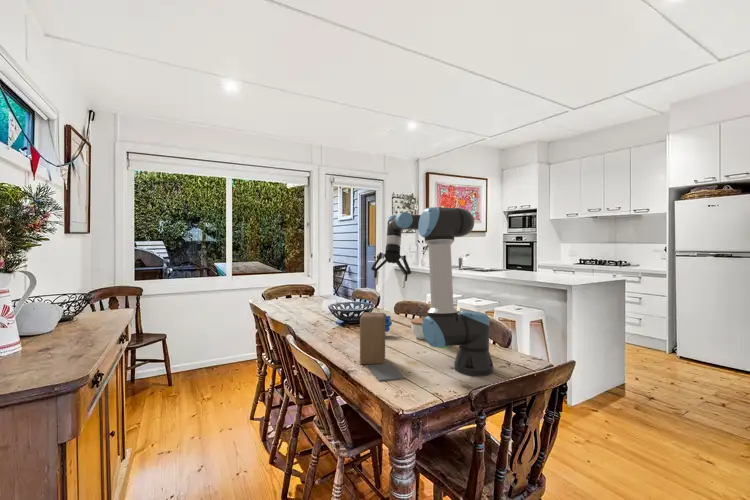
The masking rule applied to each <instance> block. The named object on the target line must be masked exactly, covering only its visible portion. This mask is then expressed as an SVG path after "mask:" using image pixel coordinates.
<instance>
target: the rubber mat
mask: <svg viewBox="0 0 750 500" xmlns="http://www.w3.org/2000/svg"><path fill="white" fill-rule="evenodd" d="M367 368H368V369H369V371H370V372H371V374H373V376H374V377H375V378H376V379H377V380H378V382H388V381H396V380H397V381H398V380H405V379H406V376H404V374H403V373H401V371H399V369H398V368H396V367H395V365H393V364H392V363H383V364H378V365H377V364H367Z"/></svg>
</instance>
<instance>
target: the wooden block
mask: <svg viewBox="0 0 750 500" xmlns="http://www.w3.org/2000/svg"><path fill="white" fill-rule="evenodd" d="M385 314H386V313H384V312H369V311H366V312H362V314H361V316H360V318H359V362H360V364H361V365H378V364H385V358H386V332H385Z"/></svg>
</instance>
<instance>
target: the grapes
mask: <svg viewBox="0 0 750 500" xmlns="http://www.w3.org/2000/svg"><path fill="white" fill-rule="evenodd" d="M392 324H393V321H391V316H390V315H387V314H386V313H385V333H388V332H390V329H391V326H392Z"/></svg>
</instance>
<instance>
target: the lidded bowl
mask: <svg viewBox="0 0 750 500" xmlns="http://www.w3.org/2000/svg"><path fill="white" fill-rule="evenodd" d="M424 318H425V316H421V317H415V318H412V319H411V320H410V325H411V326H410V328H411V333H412V334H413V335H414V336H415V338H416V339H417V340H426V339H425V337H424V334H423V330H422V322H423V319H424Z"/></svg>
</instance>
